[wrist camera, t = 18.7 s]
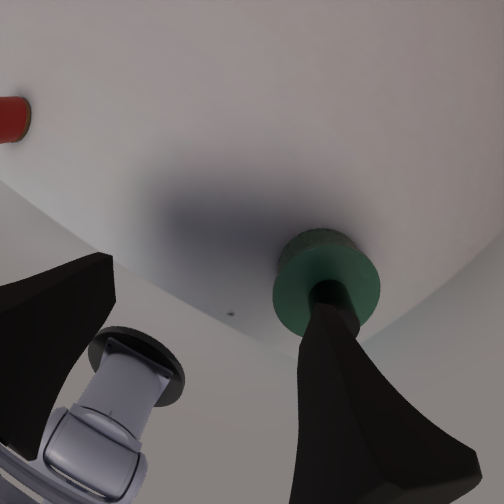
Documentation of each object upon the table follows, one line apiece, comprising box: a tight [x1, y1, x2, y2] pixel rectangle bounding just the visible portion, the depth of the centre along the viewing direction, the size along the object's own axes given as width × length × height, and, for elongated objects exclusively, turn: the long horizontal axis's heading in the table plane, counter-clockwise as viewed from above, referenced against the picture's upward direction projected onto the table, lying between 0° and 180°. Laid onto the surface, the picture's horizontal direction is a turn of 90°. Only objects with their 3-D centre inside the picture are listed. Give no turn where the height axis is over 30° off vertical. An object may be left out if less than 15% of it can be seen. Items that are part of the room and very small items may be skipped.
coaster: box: [12, 97, 31, 142], centre depth 17 cm, size 4×4×1 cm
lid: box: [273, 242, 380, 338], centre depth 16 cm, size 6×6×4 cm
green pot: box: [277, 228, 357, 274], centre depth 19 cm, size 6×6×4 cm
